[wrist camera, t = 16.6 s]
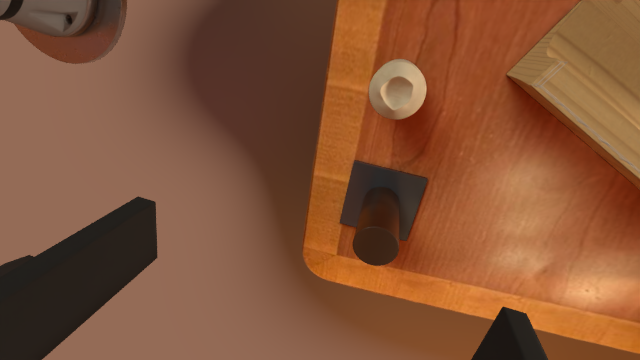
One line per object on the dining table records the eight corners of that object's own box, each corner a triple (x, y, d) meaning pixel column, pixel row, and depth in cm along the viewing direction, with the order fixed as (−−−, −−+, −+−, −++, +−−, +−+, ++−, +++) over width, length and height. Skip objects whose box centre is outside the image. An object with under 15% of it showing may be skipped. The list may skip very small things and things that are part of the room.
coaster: (340, 220, 48) (339, 222, 48) (354, 159, 44) (353, 161, 44) (406, 239, 47) (406, 241, 46) (427, 177, 43) (427, 179, 42)
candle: (412, 110, 40) (416, 128, 31) (369, 99, 41) (360, 114, 32) (427, 64, 38) (436, 70, 29) (382, 53, 38) (376, 56, 29)
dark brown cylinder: (359, 213, 46) (348, 258, 36) (367, 182, 44) (358, 221, 34) (394, 222, 46) (392, 271, 36) (403, 191, 44) (404, 234, 34)
